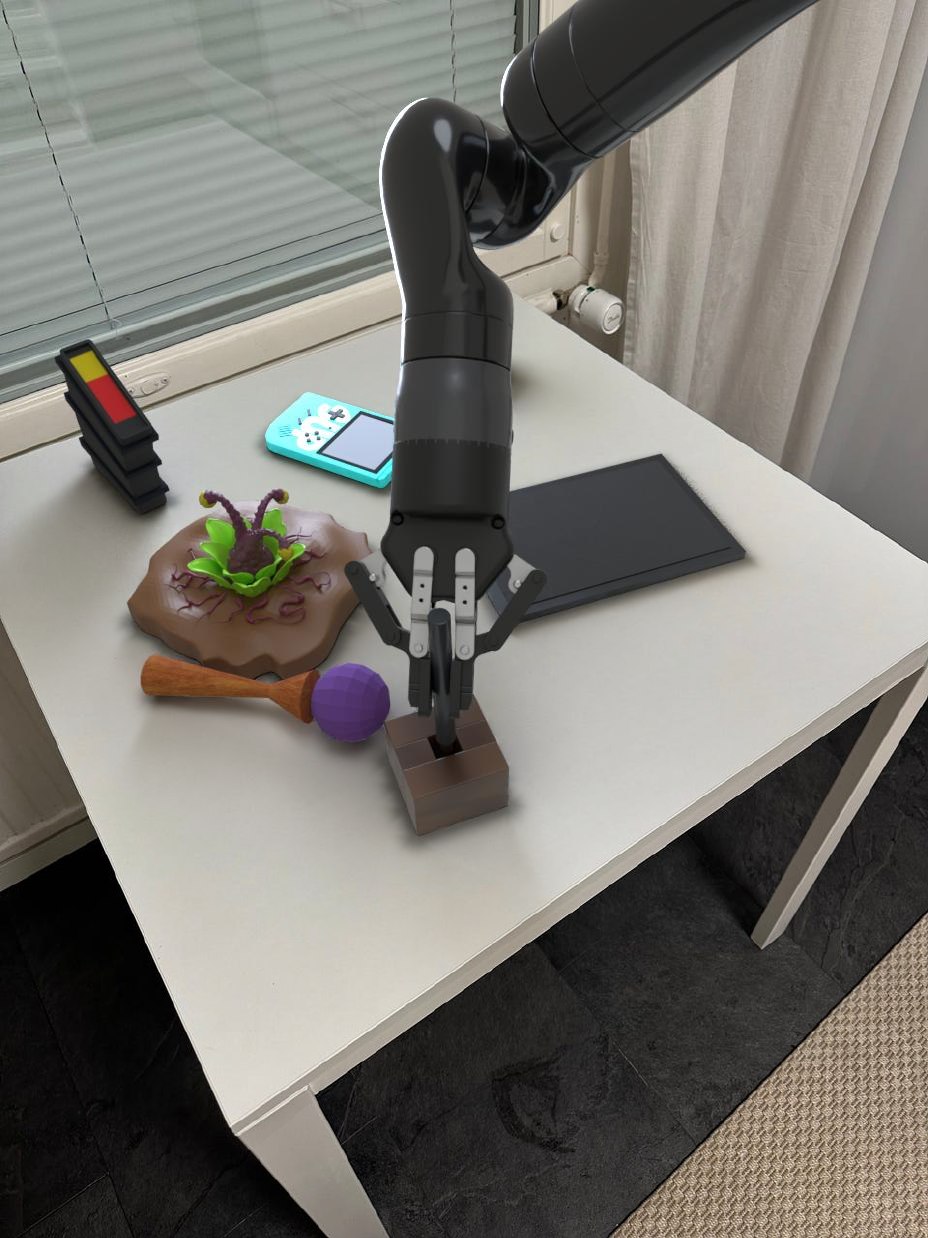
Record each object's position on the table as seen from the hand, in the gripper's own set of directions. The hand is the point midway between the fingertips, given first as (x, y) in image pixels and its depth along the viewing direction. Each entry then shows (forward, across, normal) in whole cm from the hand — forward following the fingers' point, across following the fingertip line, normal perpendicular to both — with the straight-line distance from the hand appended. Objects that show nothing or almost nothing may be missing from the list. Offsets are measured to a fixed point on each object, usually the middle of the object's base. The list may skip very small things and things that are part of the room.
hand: (440, 715), depth 57 cm
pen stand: (+6, 0, +10) cm, 11 cm away
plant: (-7, -19, +23) cm, 30 cm away
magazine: (-16, -35, +32) cm, 50 cm away
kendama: (+2, -15, +14) cm, 20 cm away
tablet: (-14, +11, +30) cm, 34 cm away
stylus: (+3, 0, +6) cm, 7 cm away
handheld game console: (-23, -15, +39) cm, 48 cm away
